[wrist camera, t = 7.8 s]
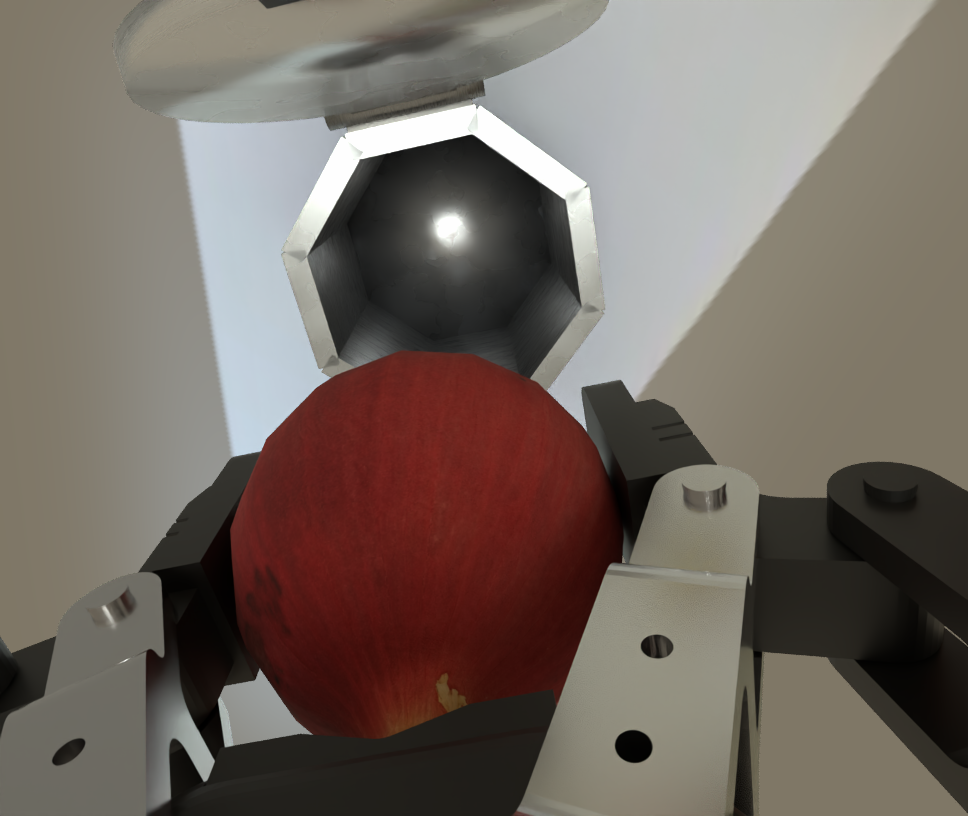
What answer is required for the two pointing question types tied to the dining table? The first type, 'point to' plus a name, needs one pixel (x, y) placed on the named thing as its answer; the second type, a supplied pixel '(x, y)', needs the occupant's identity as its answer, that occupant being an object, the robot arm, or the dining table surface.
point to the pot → (446, 247)
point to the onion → (420, 544)
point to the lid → (330, 54)
